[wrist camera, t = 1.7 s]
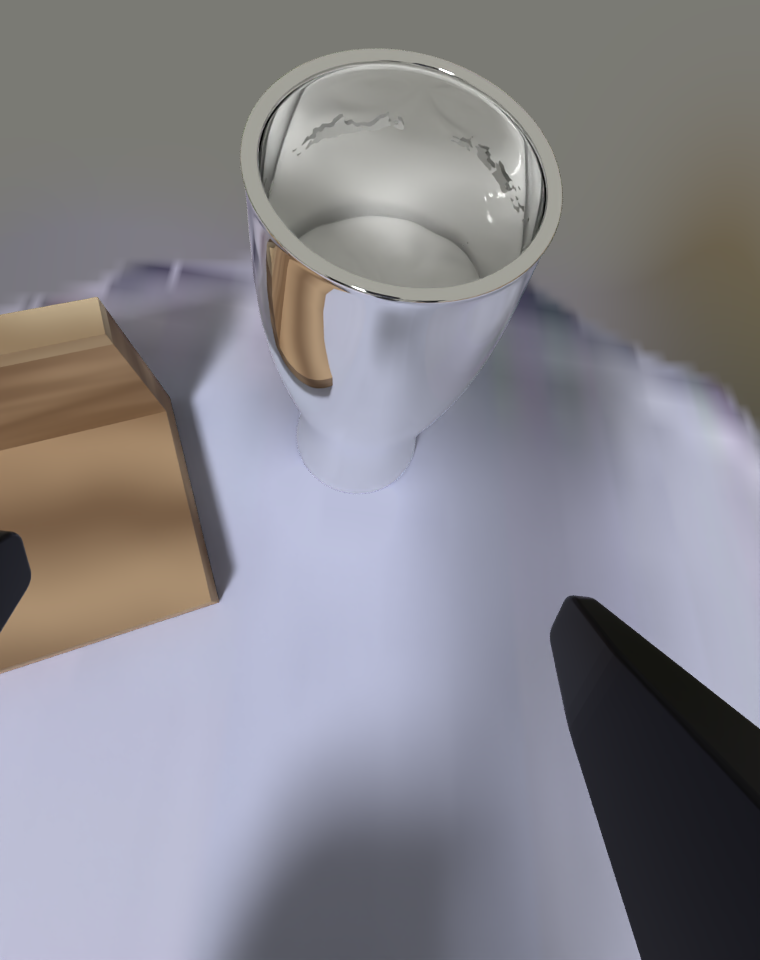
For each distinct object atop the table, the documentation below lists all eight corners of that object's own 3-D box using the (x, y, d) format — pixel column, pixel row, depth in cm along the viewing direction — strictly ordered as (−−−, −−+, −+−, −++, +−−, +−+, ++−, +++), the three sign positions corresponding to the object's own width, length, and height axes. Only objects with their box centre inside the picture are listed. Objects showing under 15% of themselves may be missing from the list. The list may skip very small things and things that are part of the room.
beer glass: (429, 499, 23) (607, 311, 8) (290, 507, 22) (226, 309, 8) (414, 376, 25) (540, 52, 10) (286, 378, 24) (228, 25, 9)
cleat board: (219, 602, 20) (161, 596, 13) (-58, 692, 18) (-314, 747, 11) (169, 397, 23) (97, 296, 15) (-80, 455, 20) (-302, 370, 13)
